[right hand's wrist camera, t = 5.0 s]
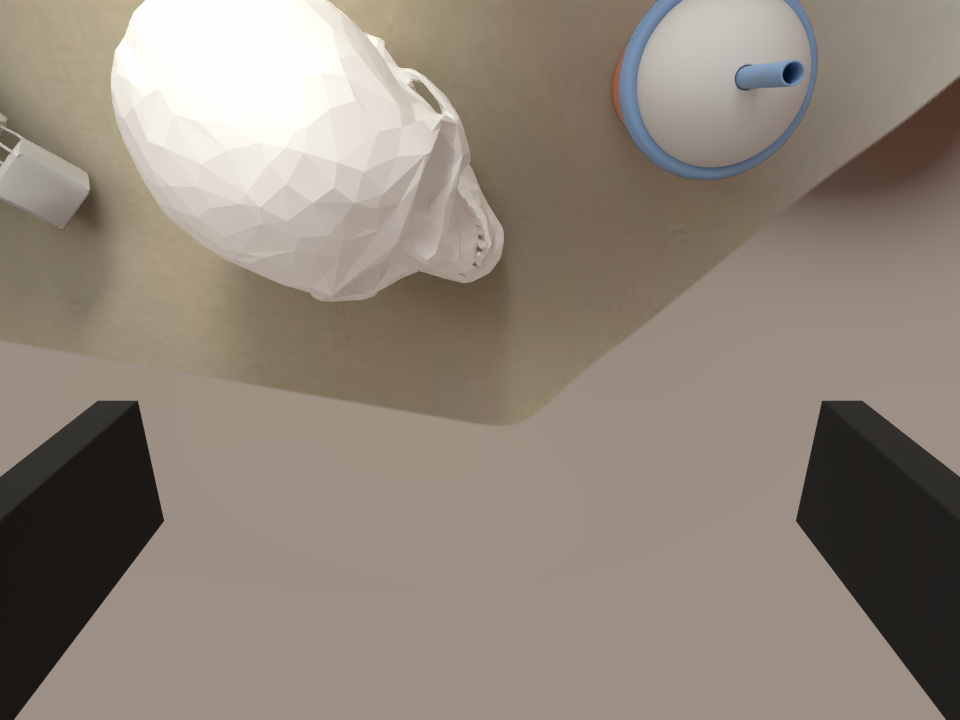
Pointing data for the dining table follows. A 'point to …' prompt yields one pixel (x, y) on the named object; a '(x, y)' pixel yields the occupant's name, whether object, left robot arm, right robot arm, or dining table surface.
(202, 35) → the skull
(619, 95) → the cup with straw
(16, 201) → the white segmented bar
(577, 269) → the dining table surface
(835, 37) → the dining table surface
